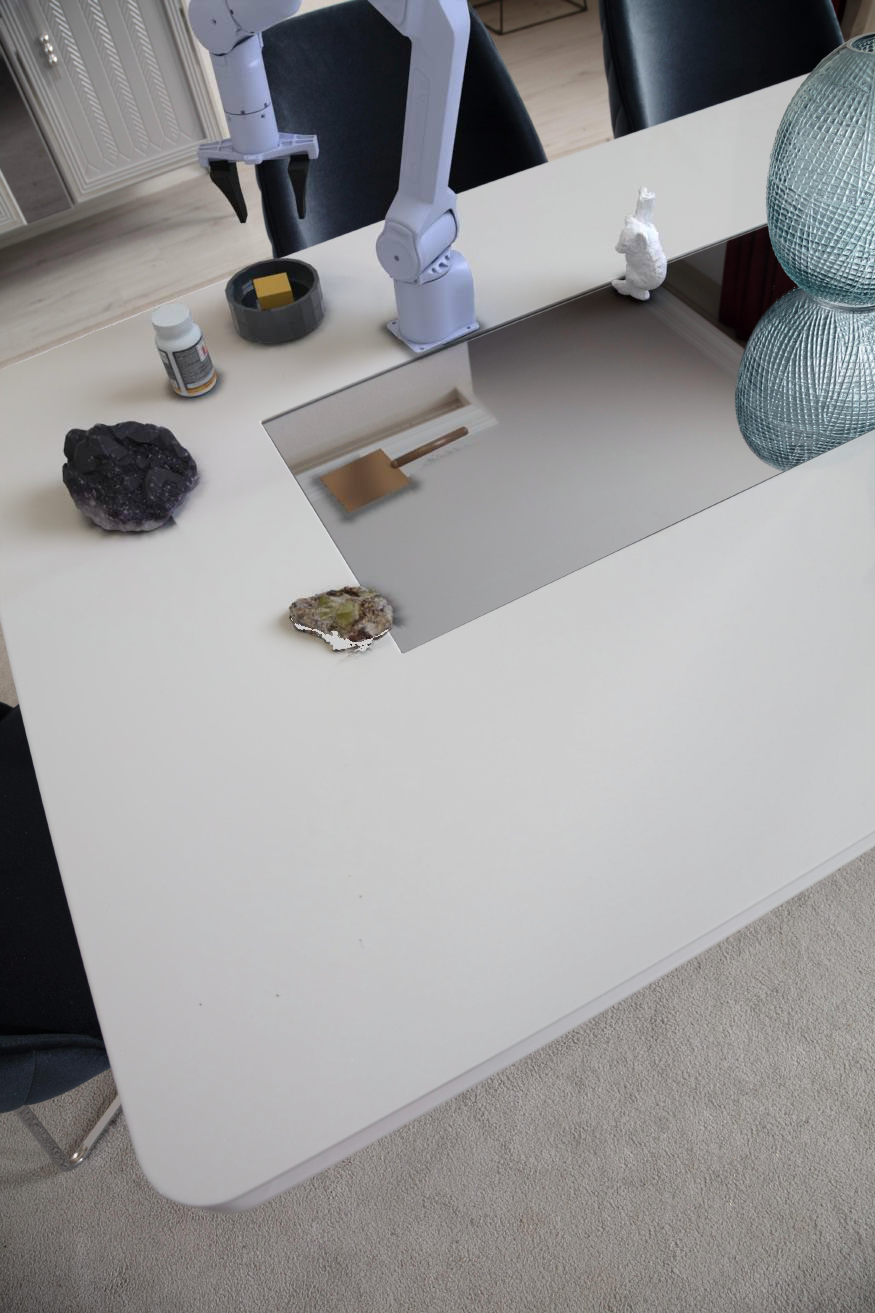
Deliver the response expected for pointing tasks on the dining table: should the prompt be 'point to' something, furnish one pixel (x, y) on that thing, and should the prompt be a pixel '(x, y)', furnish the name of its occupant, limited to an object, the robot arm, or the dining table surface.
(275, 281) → the yellow cube block
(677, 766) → the dining table surface
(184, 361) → the pill bottle
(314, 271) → the grey round bowl
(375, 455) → the wooden spatula
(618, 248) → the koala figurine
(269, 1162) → the dining table surface
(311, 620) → the mineral rock
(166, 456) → the crystal cluster
